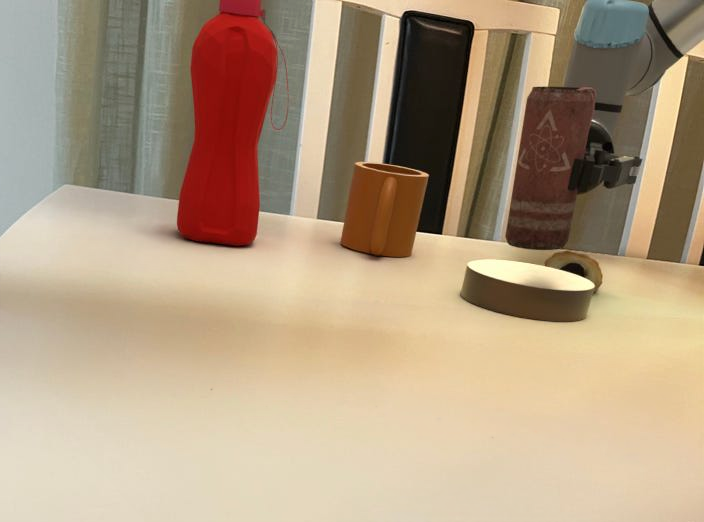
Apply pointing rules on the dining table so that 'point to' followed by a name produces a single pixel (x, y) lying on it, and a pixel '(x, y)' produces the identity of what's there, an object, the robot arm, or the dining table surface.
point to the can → (548, 166)
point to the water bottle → (228, 124)
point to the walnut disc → (527, 290)
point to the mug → (383, 209)
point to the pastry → (576, 266)
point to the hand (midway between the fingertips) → (580, 175)
